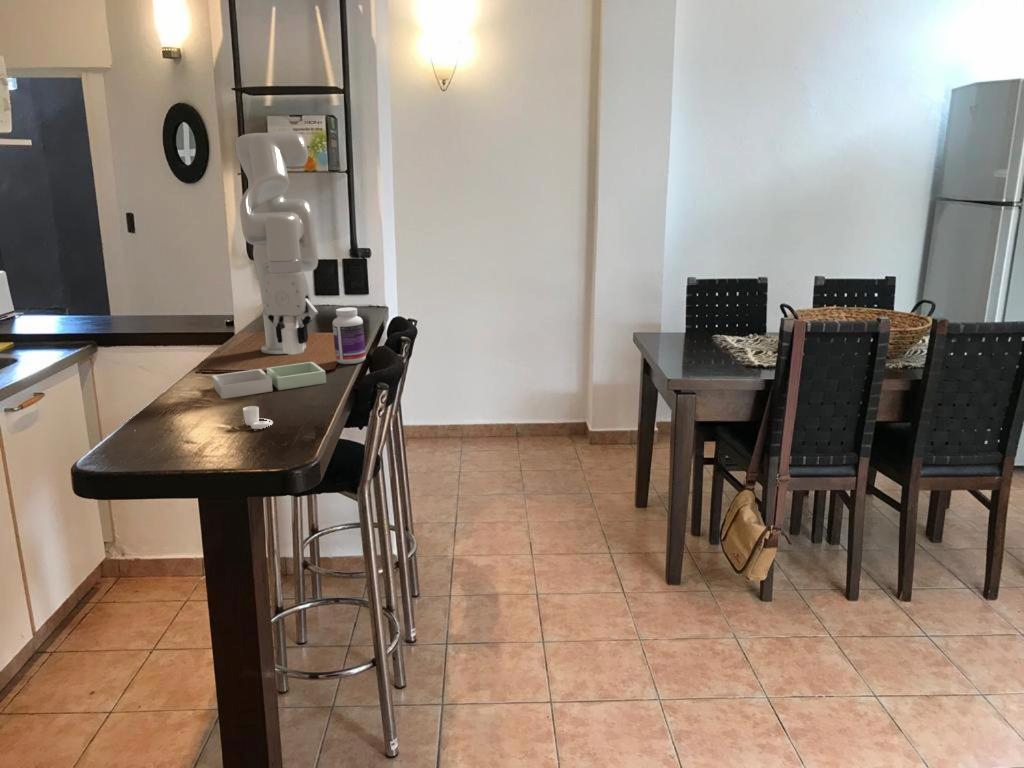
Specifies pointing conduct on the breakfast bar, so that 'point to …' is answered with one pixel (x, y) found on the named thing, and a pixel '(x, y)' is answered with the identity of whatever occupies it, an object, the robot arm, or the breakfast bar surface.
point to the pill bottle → (348, 336)
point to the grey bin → (242, 383)
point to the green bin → (296, 375)
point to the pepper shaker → (291, 336)
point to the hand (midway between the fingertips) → (292, 341)
